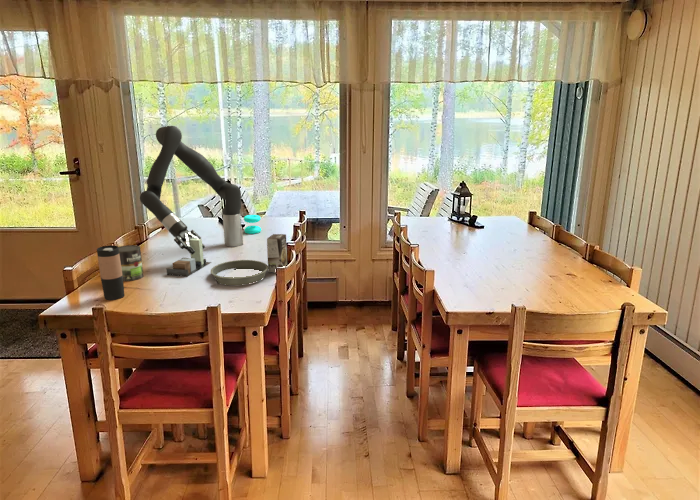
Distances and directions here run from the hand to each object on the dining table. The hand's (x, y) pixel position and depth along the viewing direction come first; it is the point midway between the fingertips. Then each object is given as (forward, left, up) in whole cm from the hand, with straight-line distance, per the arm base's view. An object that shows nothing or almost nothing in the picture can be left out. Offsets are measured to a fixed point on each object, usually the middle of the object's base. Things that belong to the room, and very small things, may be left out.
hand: (198, 250), depth 222 cm
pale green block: (+1, -1, -7) cm, 7 cm away
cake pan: (-13, +23, -8) cm, 28 cm away
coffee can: (+30, +5, -8) cm, 31 cm away
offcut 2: (+6, +6, -7) cm, 11 cm away
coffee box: (-31, +21, -8) cm, 38 cm away
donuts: (-40, -53, -8) cm, 67 cm away
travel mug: (+37, +24, -8) cm, 45 cm away
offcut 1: (+9, +9, -7) cm, 15 cm away
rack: (+5, +4, -8) cm, 10 cm away
